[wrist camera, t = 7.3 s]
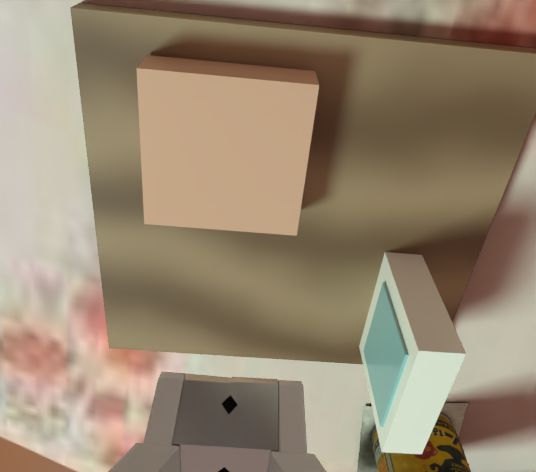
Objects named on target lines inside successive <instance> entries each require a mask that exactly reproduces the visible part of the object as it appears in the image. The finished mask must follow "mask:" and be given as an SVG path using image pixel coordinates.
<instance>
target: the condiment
mask: <svg viewBox="0 0 536 472" xmlns="http://www.w3.org/2000/svg"><path fill="white" fill-rule="evenodd" d="M468 404H469V403H444V405H443V408H442V410H441V412H440V414H439V417H438V419H437V421H436V423H435V426H434V428H433V430H432V432H431V435H430V437H429V439H428V441H427V444H426V446H425V448H424V450H423V453H422V454H404V453H385V452H381V448H380V443H379V438H378V433H377V429H376V424H375V419H374V414H373V410H372V406H364V411H363V419H362V428H361V438H360V452H359V459H358V472H471V471H470V468H469V464H468V463H467V460H466V456H465V454H464V450H463V448H462V445H461V443H460V440H459V434H460V430H461V427H462V423H463V419H464V416H465V412H466V409H467V406H468Z"/></svg>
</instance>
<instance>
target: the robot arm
mask: <svg viewBox="0 0 536 472" xmlns="http://www.w3.org/2000/svg"><path fill="white" fill-rule="evenodd" d="M109 472H326V470H325V469H324V468H323V466H322V465H321V463H320V462H319V460H318V459H317V458H316V456H315V455H314V454H308V453H307V443H306V425H305V408H304V390H303V384H302V382H301V381H285V380H277V379H261V378H243V377H232V378H227V377H217V376H206V375H195V374H185V373H172V372H161V374H160V377H159V379H158V383H157V387H156V391H155V396H154V400H153V404H152V409H151V413H150V417H149V421H148V426H147V430H146V434H145V439H144V443H136V444H135V445H134V446H133V447H132V448H131V449H130V450H129V451H128V452H127V453H126V454H125V455H124V456H123V457H122V458H121V459H120V460H119V461H118V462H117V463H116V464H115V465H114V466H113V467H112V468H111V469H110V470H109Z"/></svg>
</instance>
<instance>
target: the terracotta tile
mask: <svg viewBox="0 0 536 472" xmlns="http://www.w3.org/2000/svg"><path fill="white" fill-rule="evenodd" d="M136 69H137V89H138V109H139V129H140V149H141V169H142V189H143V209H144V224H150V225H163V226H176V227H189V228H202V229H215V230H229V231H242V232H255V233H268V234H281V235H294V236H297V231H298V224H299V217H300V211H301V204H302V197H303V191H304V184H305V177H306V171H307V164H308V157H309V151H310V144H311V137H312V131H313V124H314V117H315V111H316V104H317V97H318V91H319V82H318V79H317V76H316V72H315V71H311V70H300V69H290V68H279V67H268V66H258V65H247V64H237V63H226V62H216V61H205V60H195V59H184V58H173V57H163V56H152V55H147V56H146V57H145V58H144V59H143V61H142V62H141V63H140V64H139V66H138V67H137V68H136Z"/></svg>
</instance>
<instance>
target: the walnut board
mask: <svg viewBox="0 0 536 472" xmlns="http://www.w3.org/2000/svg"><path fill="white" fill-rule="evenodd" d="M71 16H72V25H73V34H74V43H75V52H76V60H77V69H78V78H79V87H80V96H81V104H82V113H83V122H84V131H85V140H86V148H87V157H88V166H89V175H90V184H91V192H92V201H93V210H94V219H95V228H96V236H97V245H98V254H99V263H100V272H101V280H102V289H103V298H104V307H105V316H106V324H107V333H108V342H109V348H113V349H129V350H145V351H161V352H177V353H193V354H208V355H224V356H240V357H256V358H272V359H288V360H304V361H320V362H335V363H351V364H363V362H362V358H361V353H360V348H359V345H360V342H361V338H362V334H363V330H364V327H365V323H366V319H367V316H368V312H369V308H370V305H371V301H372V297H373V294H374V290H375V286H376V283H377V279H378V275H379V272H380V268H381V264H382V261H383V257H384V253H385V252H390V253H403V254H417V255H422V256H423V258H424V260H425V263H426V265H427V267H428V269H429V272H430V274H431V276H432V278H433V281H434V283H435V285H436V287H437V290H438V292H439V294H440V296H441V299H442V301H443V303H444V305H445V307H446V310H447V312H448V314H449V316H450V319H451V321H453V318H454V316H455V313H456V311H457V308H458V306H459V303H460V301H461V298H462V296H463V293H464V291H465V288H466V286H467V283H468V281H469V278H470V276H471V273H472V271H473V268H474V266H475V263H476V261H477V258H478V256H479V253H480V251H481V248H482V246H483V243H484V241H485V238H486V236H487V233H488V231H489V228H490V226H491V223H492V221H493V218H494V216H495V213H496V211H497V208H498V206H499V203H500V201H501V198H502V196H503V193H504V191H505V188H506V186H507V183H508V181H509V178H510V176H511V173H512V171H513V168H514V166H515V163H516V161H517V158H518V156H519V153H520V151H521V148H522V146H523V143H524V141H525V138H526V136H527V133H528V131H529V128H530V126H531V123H532V121H533V118H534V116H535V113H536V48H528V47H518V46H508V45H498V44H488V43H478V42H468V41H458V40H447V39H437V38H427V37H417V36H407V35H397V34H387V33H377V32H367V31H357V30H347V29H337V28H327V27H317V26H307V25H297V24H287V23H277V22H267V21H257V20H247V19H237V18H227V17H217V16H207V15H197V14H187V13H177V12H167V11H157V10H147V9H137V8H127V7H116V6H106V5H96V4H86V3H79V4H77V5H75V6H73V7H71ZM147 55H152V56H163V57H173V58H184V59H195V60H205V61H216V62H226V63H237V64H247V65H258V66H268V67H279V68H290V69H300V70H311V71H315V72H316V76H317V79H318V82H319V91H318V97H317V104H316V111H315V117H314V124H313V131H312V137H311V144H310V151H309V157H308V164H307V171H306V177H305V184H304V191H303V197H302V204H301V211H300V217H299V224H298V231H297V236H294V235H281V234H268V233H255V232H242V231H229V230H215V229H202V228H189V227H176V226H163V225H150V224H144V209H143V189H142V169H141V149H140V129H139V109H138V89H137V69H136V68H137V67H138V66H139V64H140V63H141V62H142V61H143V59H144V58H145V57H146V56H147Z"/></svg>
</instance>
